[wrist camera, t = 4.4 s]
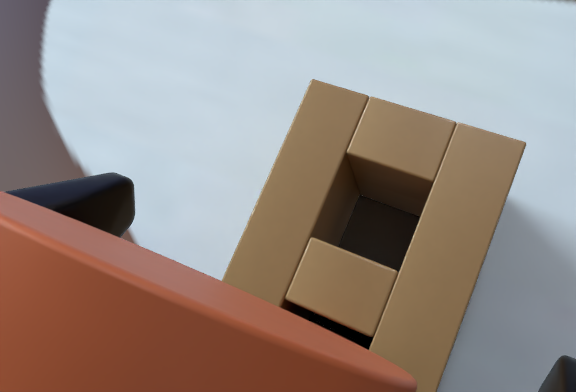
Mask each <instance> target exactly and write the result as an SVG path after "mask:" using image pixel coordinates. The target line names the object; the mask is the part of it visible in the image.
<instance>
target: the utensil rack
mask: <svg viewBox="0 0 576 392" xmlns="http://www.w3.org/2000/svg"><path fill="white" fill-rule="evenodd" d="M525 147H526V143H525V142H523V141H519V140H516V139H513V138H509V137H506V136H503V135H499V134H496V133H493V132H489V131H486V130H483V129H479V128H476V127H473V126H469V125H466V124H462V123H457V124H456V122H455V121H452V120H448V119H445V118H442V117H438V116H435V115H432V114H428V113H425V112H422V111H418V110H415V109H412V108H408V107H405V106H401V105H398V104H395V103H391V102H388V101H385V100H381V99H378V98H375V97H370V98H369V96H367V95H364V94H361V93H358V92H354V91H351V90H347V89H344V88H341V87H337V86H334V85H331V84H327V83H324V82H321V81H317V80H314V79H312V80H311V81H310V84H309V86H308V88H307V90H306V93H305V95H304V97H303V99H302V102H301V104H300V106H299V108H298V111H297V113H296V115H295V117H294V120H293V122H292V124H291V126H290V129H289V131H288V133H287V135H286V138H285V140H284V142H283V144H282V147H281V149H280V151H279V153H278V156H277V158H276V160H275V162H274V164H273V167H272V169H271V171H270V173H269V176H268V178H267V180H266V182H265V185H264V187H263V189H262V191H261V194H260V196H259V198H258V200H257V203H256V205H255V207H254V209H253V212H252V214H251V216H250V218H249V221H248V223H247V225H246V227H245V230H244V232H243V234H242V236H241V239H240V241H239V243H238V245H237V248H236V250H235V252H234V254H233V257H232V259H231V261H230V263H229V265H228V268H227V270H226V272H225V274H224V277H223V279H222V282H224V283H227V284H229V285H231V286H233V287H236V288H238V289H240V290H242V291H245V292H247V293H249V294H251V295H254V296H256V297H258V298H260V299H262V300H265V301H267V302H269V303H271V304H273V305H276V306H278V307H280V308H282V309H284V310H287V311H289V312H291V313H293V314H295V315H297V316H299V317H302V318H304V319H306V320H308V319H309V317H310V314H311V312H314V313H316V314H319V315H321V316H323V317H325V318H328V319H330V320H332V321H334V322H337V323H339V324H341V325H344V326H346V327H348V328H350V329H353V330H355V331H357V332H359V333H362V334H364V335H366V336H368V337H373V340H372V343H371V345H370V348H369V351H371V352H373V353H375V354H377V355H379V356H381V357H383V358H384V359H386V360H388V361H390V362H392V363H393V364H395V365H397V366H398V367H400V368H402V369H403V370H405V371H406V372H408V373H409V374H410V375H411V376H412V377H413V378H414V379H415V380H416V381H417V390H416V392H437V389H438V387H439V384H440V381H441V378H442V376H443V373H444V370H445V367H446V365H447V362H448V359H449V356H450V353H451V351H452V348H453V345H454V342H455V340H456V337H457V334H458V331H459V329H460V326H461V323H462V320H463V318H464V315H465V312H466V309H467V307H468V304H469V301H470V298H471V296H472V293H473V290H474V287H475V285H476V282H477V279H478V276H479V273H480V271H481V268H482V265H483V262H484V260H485V257H486V254H487V251H488V249H489V246H490V243H491V240H492V238H493V235H494V232H495V229H496V227H497V224H498V221H499V218H500V216H501V213H502V210H503V207H504V205H505V202H506V199H507V196H508V193H509V191H510V188H511V185H512V182H513V180H514V177H515V174H516V171H517V169H518V166H519V163H520V160H521V158H522V155H523V152H524V149H525ZM359 195H361V196H364V197H367V198H369V199H372V200H375V201H378V202H380V203H383V204H386V205H389V206H392V207H394V208H397V209H400V210H403V211H405V212H408V213H411V214H414V215H417V216H419V217H420V219H419V222H418V224H417V227H416V229H415V232H414V235H413V237H412V240H411V242H410V245H409V247H408V250H407V253H406V255H405V258H404V260H403V263H402V265H401V268H400V271H399V273H398V271H397V270H395V269H392V268H390V267H387V266H385V265H382V264H380V263H377V262H375V261H372V260H370V259H367V258H365V257H362V256H359V255H357V254H354V253H352V252H349V251H347V250H344V249H342V248H339V247H338V246H339V244H340V241H341V239H342V236H343V234H344V232H345V229H346V227H347V224H348V222H349V219H350V217H351V215H352V212H353V210H354V207H355V205H356V203H357V200H358V198H359Z"/></svg>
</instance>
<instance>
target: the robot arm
mask: <svg viewBox="0 0 576 392" xmlns="http://www.w3.org/2000/svg"><path fill="white" fill-rule="evenodd" d="M5 193H8V194H10V195H13V196H16V197H18V198H21V199H24V200H26V201H29V202H31V203H34V204H37V205H39V206H42V207H44V208H47V209H50V210H52V211H55V212H57V213H60V214H62V215H65V216H67V217H70V218H72V219H75V220H77V221H80V222H82V223H85V224H87V225H90V226H92V227H95V228H97V229H100V230H102V231H104V232H107V233H109V234H112V235H114V236H117V237H119V238H121V236H122V235H123V234H124V233H125V231H126V230H127V229H128V228H129V227H130V225H131V224H132V222H133V220H134V216H135V199H134V184H133V182H132V180H131V179H129V178H127V177H125V176H122V175H120V174H117V173H106V174H100V175H95V176H89V177H84V178H78V179H73V180H67V181H62V182H57V183H51V184H46V185H40V186H34V187H29V188H23V189H17V190H12V191H6V192H5ZM538 392H576V359H574V358H572V357H569V356H566V355H564V356H561V357H560V358H558V360H557V361H556V363H555V364H554V366H553V367H552V369H551V371H550V372H549V374H548V375H547V377H546V379H545V380H544V382H543V383H542V385H541V387H540V389H539V391H538Z"/></svg>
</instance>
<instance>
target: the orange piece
mask: <svg viewBox="0 0 576 392" xmlns="http://www.w3.org/2000/svg"><path fill="white" fill-rule="evenodd" d="M416 390H417V381H416V380H415V379H414V378H413V377H412V376H411V375H410V374H409V373H408V372H406V371H405V370H403V369H402V368H400V367H398V366H397V365H395V364H393V363H392V362H390V361H388V360H386V359H384V358H383V357H381V356H379V355H377V354H375V353H373V352H371V351H369V350H367V345H366V344H365V343H362V342H360V341H358V340H356V339H354V338H351V337H349V336H347V335H345V334H342V333H340V332H338V331H336V330H333V329H331V328H329V327H327V326H325V325H322V324H319V323H315V322H310V321H308V320H306V319H304V318H302V317H299V316H297V315H295V314H293V313H291V312H289V311H287V310H284V309H282V308H280V307H278V306H276V305H273V304H271V303H269V302H267V301H265V300H262V299H260V298H258V297H256V296H254V295H251V294H249V293H247V292H245V291H242V290H240V289H238V288H236V287H233V286H231V285H229V284H227V283H224V282H222V281H220V280H218V279H215V278H213V277H211V276H208V275H206V274H204V273H202V272H199V271H197V270H195V269H192V268H190V267H188V266H185V265H183V264H181V263H178V262H176V261H174V260H171V259H169V258H167V257H164V256H162V255H160V254H157V253H155V252H153V251H150V250H148V249H145V248H143V247H141V246H138V245H136V244H134V243H131V242H128V241H126V240H124V239H122V238H119V237H117V236H114V235H112V234H109V233H107V232H104V231H102V230H100V229H97V228H95V227H92V226H90V225H87V224H85V223H82V222H80V221H77V220H75V219H72V218H70V217H67V216H65V215H62V214H60V213H57V212H55V211H52V210H50V209H47V208H44V207H42V206H39V205H37V204H34V203H31V202H29V201H26V200H24V199H21V198H18V197H16V196H13V195H10V194H8V193H5V192H2V191H0V392H416Z"/></svg>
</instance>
